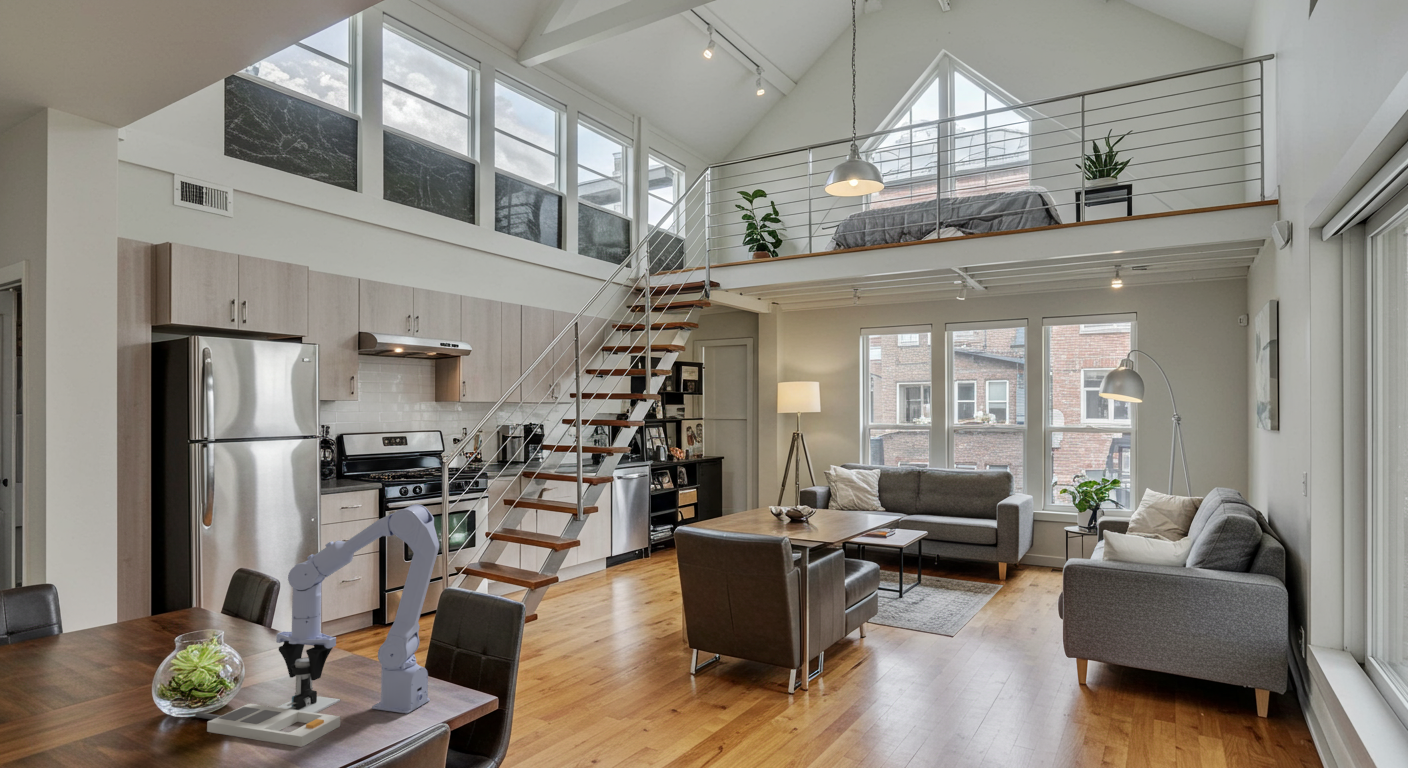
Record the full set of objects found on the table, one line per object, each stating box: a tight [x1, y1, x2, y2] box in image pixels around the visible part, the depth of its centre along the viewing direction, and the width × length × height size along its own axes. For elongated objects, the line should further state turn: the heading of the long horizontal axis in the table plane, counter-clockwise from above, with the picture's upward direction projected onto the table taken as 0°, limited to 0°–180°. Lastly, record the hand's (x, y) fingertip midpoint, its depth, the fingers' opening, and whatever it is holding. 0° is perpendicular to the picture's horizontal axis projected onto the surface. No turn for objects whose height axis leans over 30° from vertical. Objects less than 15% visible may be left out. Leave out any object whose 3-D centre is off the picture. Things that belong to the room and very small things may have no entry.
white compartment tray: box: [194, 703, 341, 748], centre depth 156 cm, size 33×10×3 cm, turn 74°
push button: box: [287, 656, 318, 710], centre depth 165 cm, size 7×5×10 cm
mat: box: [277, 695, 341, 713], centre depth 166 cm, size 10×10×1 cm
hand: (305, 677), depth 166 cm, fingers closed on push button, 5 cm apart
